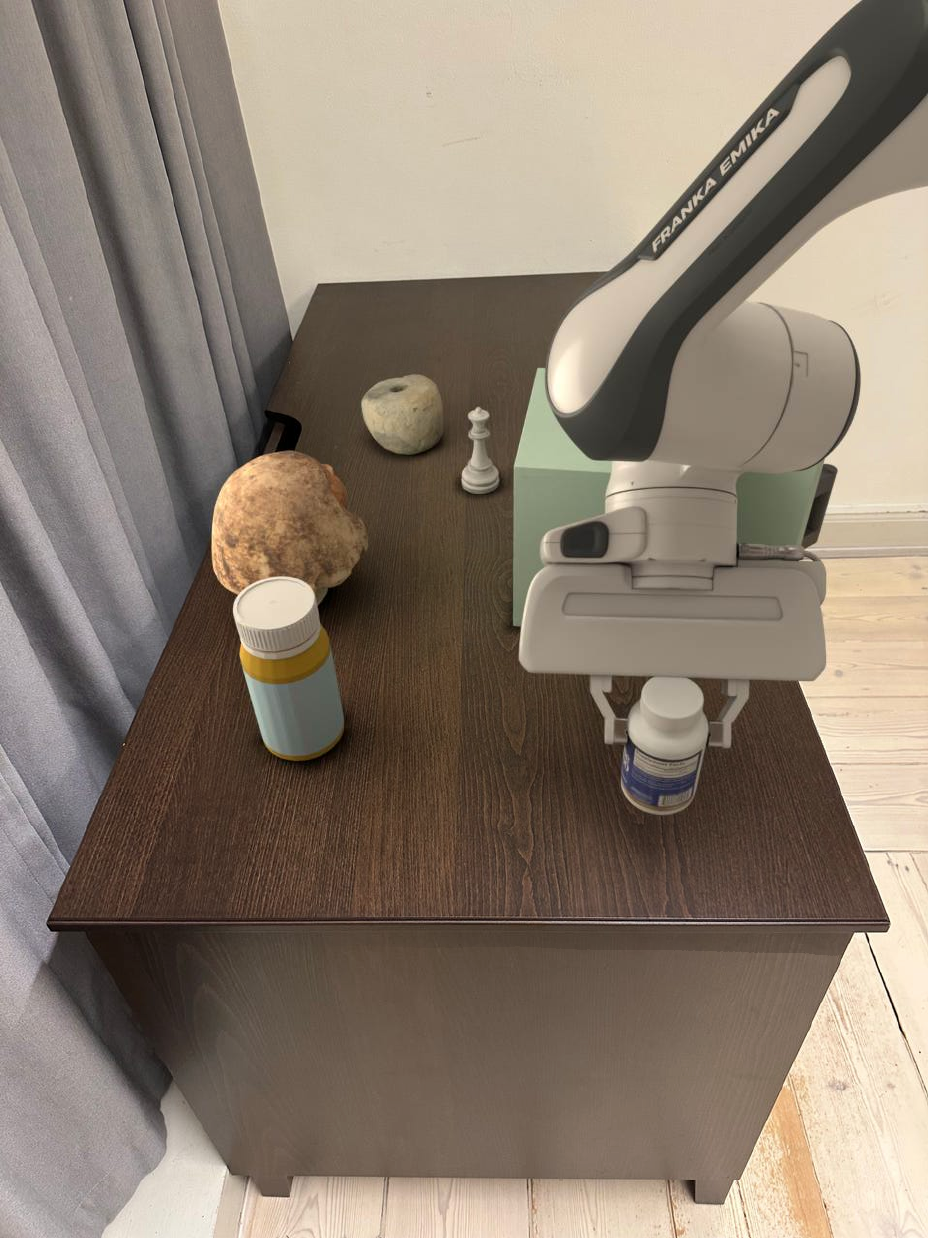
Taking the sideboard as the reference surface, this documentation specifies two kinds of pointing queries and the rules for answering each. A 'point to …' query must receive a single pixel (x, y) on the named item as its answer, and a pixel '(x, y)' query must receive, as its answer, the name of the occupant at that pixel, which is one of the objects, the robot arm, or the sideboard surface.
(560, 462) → the mini fridge
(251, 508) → the tan rounded lump
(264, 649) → the bottle
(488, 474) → the chess piece
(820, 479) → the fridge door
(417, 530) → the sideboard surface
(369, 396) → the stone
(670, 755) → the pill bottle
